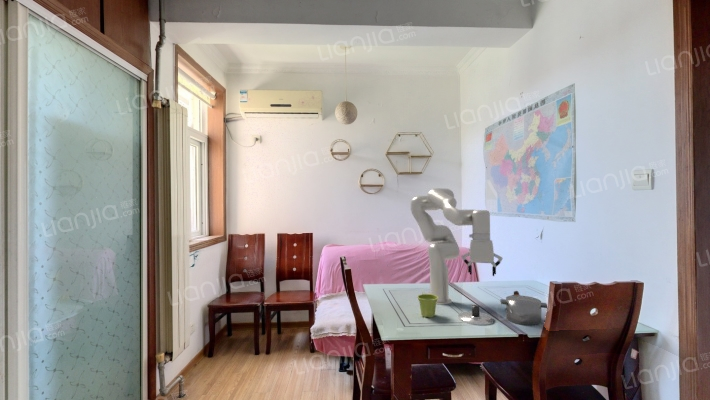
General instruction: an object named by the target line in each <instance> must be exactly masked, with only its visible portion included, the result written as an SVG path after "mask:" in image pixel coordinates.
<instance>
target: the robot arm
mask: <svg viewBox="0 0 710 400" xmlns="http://www.w3.org/2000/svg"><path fill="white" fill-rule="evenodd" d="M456 207H457V199H456V198H455V193H454V192H453V190H451V189H450V188H438V187H437V188H435V187H434V188H432V189H431V190H429V191H428V192H427V195H417V196H415V197H413V198H411V201H410V211H411V214H412V216H413V218H414V220H415V221H416V222H417V224H418V227H419V229H420V232H421V234H422V236H423V238H424V241H426V242H427V243H429V244H430V243H431V244H430V245H429V246H428V248H427V254H428V260H429V279H430V280H429V282H430V283H429V286H430V287H429V288H430V289H429V290H430V291H429V292H422V293H421V295H422V294H431V295H435V296H437V297H438V299H437V302H436V305H441V306H443V305H444V306H445V305H450V304H452V302H453V301H452V299H451V298H449V297H450V296H449V290H450V289H449V288H450V286H449V285H450V284H449V266H448V265H447V262H446V261H448V260H456V259H457V258H458V257H459V256H460V253H461V251H460V247H459V244H458V242H457V240H456V238H455V236H454V234H453V232H452V230H451V229H450V228H449V226H447V225H443V224H438V225H437V224H436V223H435V222H434V220H433V217H432V216H431V215H430V214H429V213H428V212H426V211H438V210H441V211H442V213H443V217H444V218H445V219H446V220H447V221H448V222H450V223H452V225H455V226H458V227H459V226H463V227H464V226H472V227H471V228H472V233H471V234H469V235H468V236H469V237H468V238H471V239H470V244H469V251H468V252H467V253H465V254H462V255H461V259H462V260H463V263H465V264H466V265H467V267H468V268H467V270H468V271H467V272H468V273H469V275H470V276H471V275H472V274H473V272H472V271H473V270H472V269H473V268H472V267H473V265H472V264H473V263H480V264H491V265H492V267H491V270H492V272H491V274H492V277H495V275H496V274H497V267H498V266H499V265H500V264H501V262H502V261H503V257H502V256H501V255H499V254H497V253H495V252H494V243H493V240H492V239H491V214H490V213H491V212H490V211H489V210H485V209H458V208H456ZM466 257H467V258H468V257H469V260H467V258H466ZM495 258H496V259H497V261H496V262H495V260H494V259H495Z"/></svg>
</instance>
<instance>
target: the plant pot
mask: <svg viewBox="0 0 710 400" xmlns="http://www.w3.org/2000/svg"><path fill="white" fill-rule="evenodd" d="M417 298H418V303H419V308H420V315H421V316H422V317H424V318H427V317H428V318H433V317H435V315H436V309H437V308H436V306H437V304H436V302H437V299H438V297H437V296H435V295H431V294H422V293H421V294H419V295H417Z"/></svg>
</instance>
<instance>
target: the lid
mask: <svg viewBox="0 0 710 400" xmlns="http://www.w3.org/2000/svg"><path fill="white" fill-rule="evenodd" d="M457 317H458V319H459V320H460V321H461V322H463V323H464V324H465V323H466V324H469V325H474V326H488V325H491V324H493V323H494V322H495V319H494V317H493V315H489V314H487V313H484V312H480V305H478V304H472V305H471V311H463V312H461V313H459V314H458V315H457Z"/></svg>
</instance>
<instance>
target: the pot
mask: <svg viewBox="0 0 710 400" xmlns="http://www.w3.org/2000/svg"><path fill="white" fill-rule="evenodd" d="M500 304H501V305H505V310H506V311H505V312H506V313H505V318H506V320H507V321H509V322H510V323H512V324H516V325H520V326H526V327H527V326H529V327H535V325H536V326H539V325H542V323H543V321H542V319H543V318H542V314H543V313H542V309H548V308H547V305H548V304H547V303H546V302H542V300H541V299H540V298H539V299H538V298H535V297H534V296H533V297H532V296H528V295H521V296H520V294H519V295H514V294H512V295H508V296H506V297H505V299H502V298H501V299H500Z"/></svg>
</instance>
